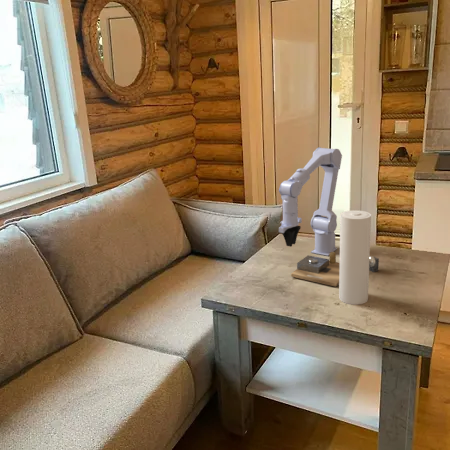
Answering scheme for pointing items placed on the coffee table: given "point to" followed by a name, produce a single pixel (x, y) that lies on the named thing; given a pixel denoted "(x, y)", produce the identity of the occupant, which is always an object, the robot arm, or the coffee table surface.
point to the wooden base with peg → (322, 273)
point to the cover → (313, 264)
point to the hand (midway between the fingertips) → (290, 244)
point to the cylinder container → (354, 256)
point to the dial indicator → (373, 264)
